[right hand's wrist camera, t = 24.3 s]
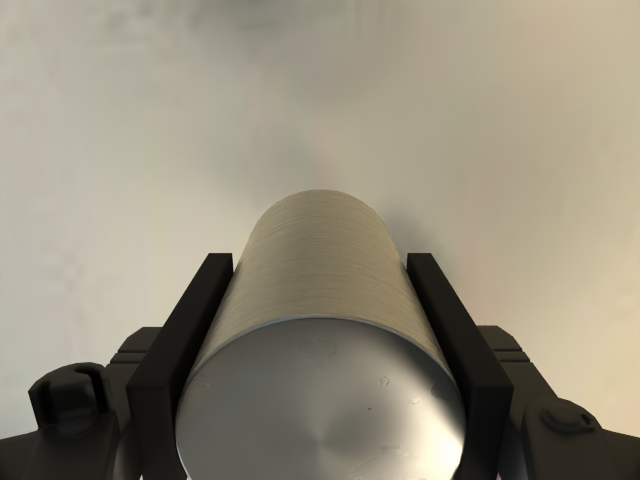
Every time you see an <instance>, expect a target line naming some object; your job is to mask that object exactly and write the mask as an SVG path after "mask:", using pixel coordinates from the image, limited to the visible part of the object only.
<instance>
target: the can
mask: <svg viewBox="0 0 640 480" xmlns="http://www.w3.org/2000/svg"><path fill="white" fill-rule="evenodd" d="M174 432H175V439H176V447H177V451H178V454H179V457H180V461H181V463H182V465H183V467H184V470H185V472H186V474H187V476H188V477H189V479H190V480H452V478H453V476H454V474H455V472H456V470H457V468H458V467H459V464H460V461H461V458H462V456H463V453H464V448H465V442H466V437H467V417H466V411H465V405H464V402H463V399H462V396H461V393H460V390H459V388H458V386H457V383H456V381H455V379H454V377H453V374H452V372H451V370H450V368H449V365H448V363H447V361H446V359H445V357H444V354H443V352H442V350H441V348H440V345H439V343H438V341H437V339H436V336H435V334H434V332H433V330H432V327H431V325H430V323H429V321H428V318H427V316H426V314H425V312H424V309H423V307H422V305H421V303H420V300H419V298H418V296H417V294H416V292H415V289H414V287H413V285H412V283H411V280H410V278H409V276H408V274H407V271H406V269H405V267H404V265H403V262H402V260H401V258H400V256H399V253H398V251H397V249H396V247H395V244H394V242H393V240H392V238H391V235H390V233H389V231H388V229H387V227H386V225H385V224H384V222H383V221H382V220H381V218H380V217H379V216H378V215H377V214H376V212H375V211H374V210H373V209H371V208H370V207H369V206H368V205H366V204H365V203H364V202H362V201H360V200H359V199H357V198H355V197H352V196H350V195H348V194H345V193H341V192H338V191H331V190H310V191H304V192H300V193H296V194H293V195H291V196H288V197H286V198H284V199H282V200H281V201H279V202H277V203H276V204H275V205H273V206H272V207H270V208H269V209H268V210H267V211H266V212H265V213H264V214H263V215H262V217H261V218H260V219H259V221H258V222H257V224H256V225H255V227H254V229H253V231H252V233H251V235H250V237H249V240H248V242H247V244H246V247H245V249H244V251H243V253H242V256H241V258H240V260H239V262H238V265H237V267H236V269H235V271H234V274H233V276H232V278H231V280H230V283H229V285H228V287H227V290H226V292H225V294H224V296H223V299H222V301H221V303H220V305H219V308H218V310H217V312H216V314H215V317H214V319H213V321H212V323H211V326H210V328H209V330H208V333H207V335H206V337H205V339H204V342H203V344H202V346H201V348H200V351H199V353H198V355H197V357H196V360H195V362H194V364H193V366H192V369H191V371H190V373H189V376H188V378H187V380H186V382H185V385H184V387H183V390H182V392H181V395H180V397H179V400H178V404H177V408H176V413H175V427H174Z"/></svg>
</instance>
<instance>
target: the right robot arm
mask: <svg viewBox="0 0 640 480" xmlns="http://www.w3.org/2000/svg"><path fill="white" fill-rule="evenodd" d="M406 271H407V274H408V276H409V278H410V280H411V283H412V285H413V287H414V289H415V292H416V294H417V296H418V298H419V300H420V303H421V305H422V307H423V309H424V312H425V314H426V316H427V318H428V321H429V323H430V325H431V327H432V330H433V332H434V334H435V336H436V339H437V341H438V343H439V345H440V348H441V350H442V352H443V354H444V357H445V359H446V361H447V363H448V365H449V368H450V370H451V372H452V374H453V377H454V379H455V381H456V383H457V386H458V388H459V390H460V393H461V396H462V399H463V402H464V405H465V411H466V417H467V437H466V442H465V448H464V453H463V456H462V458H461V461H460V464H459V467H458V468H457V470H456V472H455V474H454V476H453V480H497V475H498V473H499V476H500V478H501V480H640V438H639V437H634V436H630V435H625V434H621V433H616V432H612V431H609V430H605V429H602V427H601V426H600V424H599V423H598V421H597V420H596V418H595V417H594V416H593V415H592V414H590V413H589V412H588V411H587V410H585V409H584V408H583V407H581V406H579V405H577V404H575V403H573V402H571V401H568V400H565V399H562V398H558V397H557V395H556V394H555V393H554V391H553V390H552V389H551V387H550V386H549V385H548V383H547V382H546V380H545V379H544V378H543V376H542V375H541V374H540V372H539V371H538V370H537V368H536V367H535V366H534V364H533V363H532V362H530V359H529V358H528V356H527V355H526V354H525V352H522V348H521V347H520V345H519V344H518V343H517V341H516V340H515V339H514V337H513V336H511V335H510V334H508V333H507V332H506V331H504V330H503V329H501V328H500V327H498V326H476V324H475V323H474V321H473V320H472V318H471V317H470V315H469V313H468V312H467V310H466V309H465V307H464V305H463V304H462V302H461V301H460V299H459V297H458V296H457V294H456V293H455V291H454V289H453V288H452V286H451V285H450V283H449V281H448V280H447V278H446V277H445V275H444V274H443V272H442V270H441V269H440V267H439V266H438V264H437V262H436V261H435V259H434V258H433V256H432V254H431V253H408V255H407V268H406ZM233 274H234V272H233V259H232V253H209V254H208V256H207V257H206V259H205V260H204V262H203V263H202V265H201V267H200V268H199V270H198V271H197V273H196V275H195V276H194V278H193V279H192V281H191V283H190V284H189V286H188V287H187V289H186V291H185V292H184V294H183V295H182V297H181V299H180V300H179V302H178V303H177V305H176V306H175V308H174V310H173V311H172V313H171V314H170V316H169V318H168V319H167V321H166V322H165V324H164V326H163V327H142V328H141V329H139V330H138V331H136V332H135V333H133V334H132V335H131V336H129V337H128V338H127V339H126V340H125V341H124V343H123V344H122V346H121V347H120V348H119V350H118V353H116V354H115V355H114V356H113V358H112V359H111V360H110V364H107V366H106V367H104V366H102V365H101V364H96V363H92V362H86V363H75V364H71V365H67V366H63V367H60V368H58V369H56V370H54V371H52V372H49V373H47V374H46V375H44V376H43V377H42V378H40V379H39V380H37V381H36V382H35V383H34V384H33V386H32V387H31V388H30V389H29V391H28V394H29V397H30V401H31V404H32V407H33V411H34V414H35V418H36V421H37V425H38V430H37V431H34V432H31V433H27V434H23V435H18V436H14V437H10V438H5V439H1V440H0V480H139V479H140V477H141V475H142V477H143V480H187V477H188V476H187V474H186V472H185V470H184V467H183V465H182V463H181V461H180V457H179V454H178V451H177V447H176V439H175V432H174V427H175V413H176V408H177V404H178V400H179V397H180V395H181V392H182V390H183V387H184V385H185V382H186V380H187V378H188V376H189V373H190V371H191V369H192V366H193V364H194V362H195V360H196V357H197V355H198V353H199V351H200V348H201V346H202V344H203V342H204V339H205V337H206V335H207V333H208V330H209V328H210V326H211V323H212V321H213V319H214V317H215V314H216V312H217V310H218V308H219V305H220V303H221V301H222V299H223V296H224V294H225V292H226V290H227V287H228V285H229V283H230V280H231V278H232V276H233Z"/></svg>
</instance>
